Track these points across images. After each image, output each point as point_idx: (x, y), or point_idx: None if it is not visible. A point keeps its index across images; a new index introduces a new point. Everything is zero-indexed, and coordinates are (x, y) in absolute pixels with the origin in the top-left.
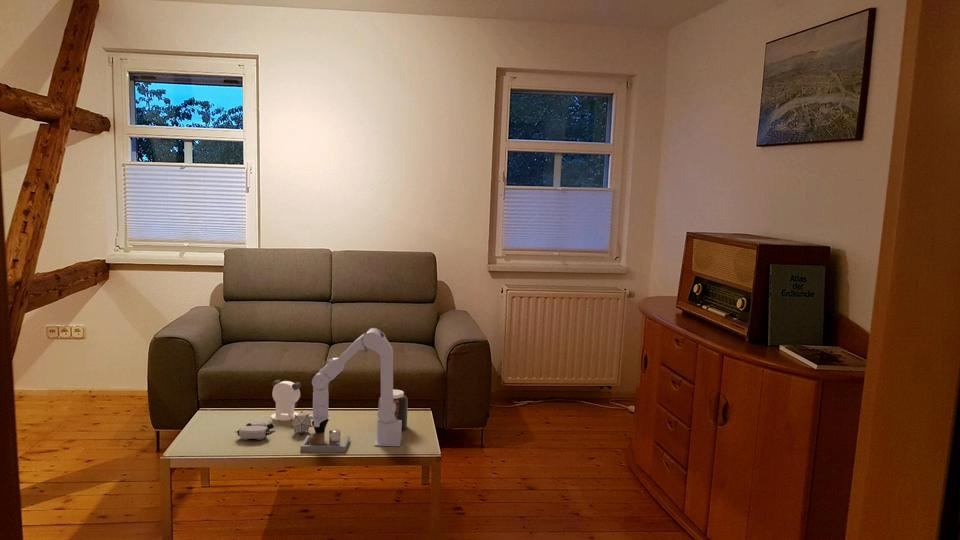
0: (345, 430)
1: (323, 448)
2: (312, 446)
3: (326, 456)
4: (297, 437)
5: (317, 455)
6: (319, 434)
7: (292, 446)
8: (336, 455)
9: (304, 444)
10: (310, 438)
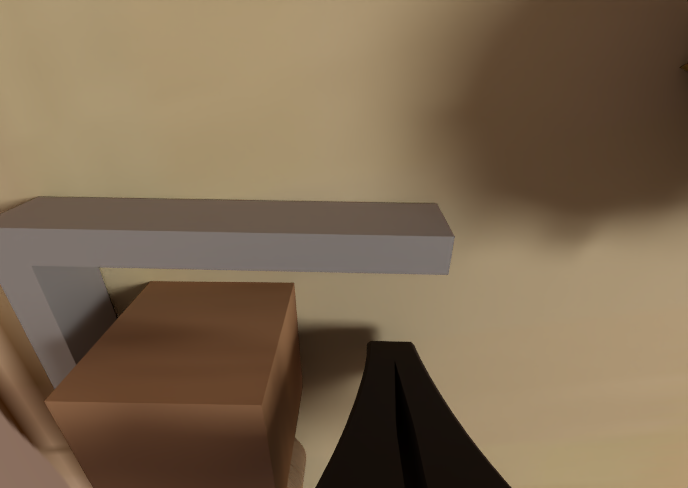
0: (670, 485)
1: None
2: (45, 361)
3: (34, 428)
4: (596, 14)
5: (19, 370)
6: (217, 486)
7: (176, 31)
8: (85, 477)
9: (68, 264)
10: (64, 391)
